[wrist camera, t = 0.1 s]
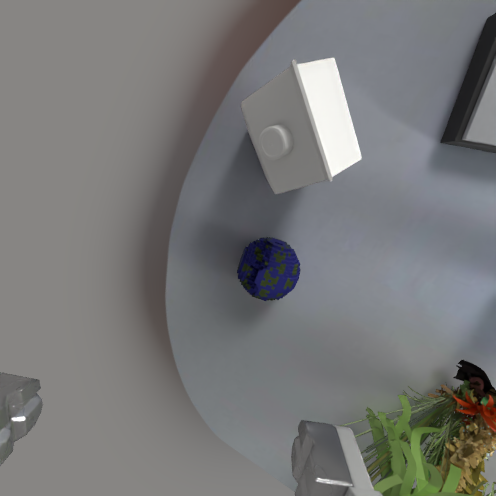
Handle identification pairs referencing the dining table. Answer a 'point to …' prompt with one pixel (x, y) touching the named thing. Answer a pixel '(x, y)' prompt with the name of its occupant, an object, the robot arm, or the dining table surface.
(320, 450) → the robot arm
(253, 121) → the milk carton
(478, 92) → the scale
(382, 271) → the dining table surface
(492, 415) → the plant
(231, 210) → the dining table surface
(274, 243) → the ball
